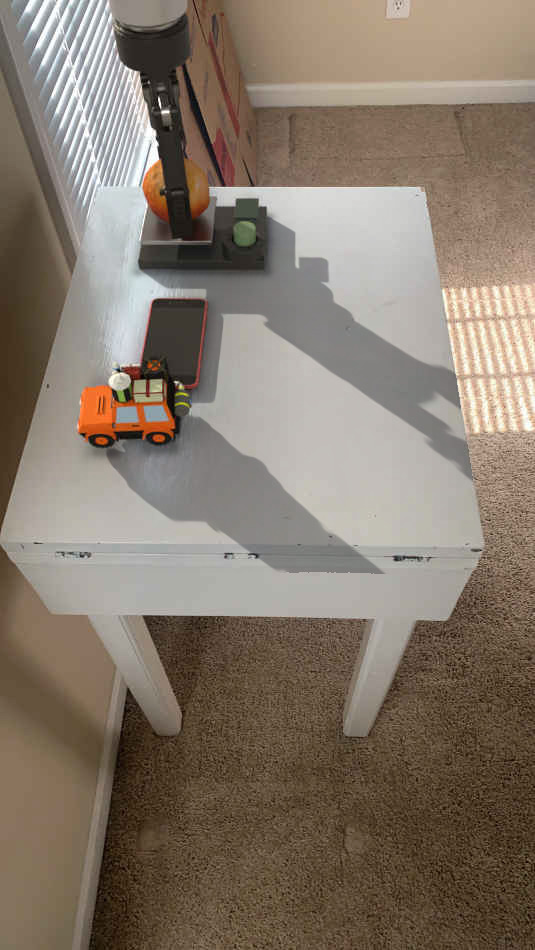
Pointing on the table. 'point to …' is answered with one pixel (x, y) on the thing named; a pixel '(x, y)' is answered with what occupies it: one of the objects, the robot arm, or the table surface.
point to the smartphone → (177, 336)
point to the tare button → (244, 233)
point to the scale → (212, 248)
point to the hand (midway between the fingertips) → (178, 214)
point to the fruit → (195, 185)
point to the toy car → (134, 405)
